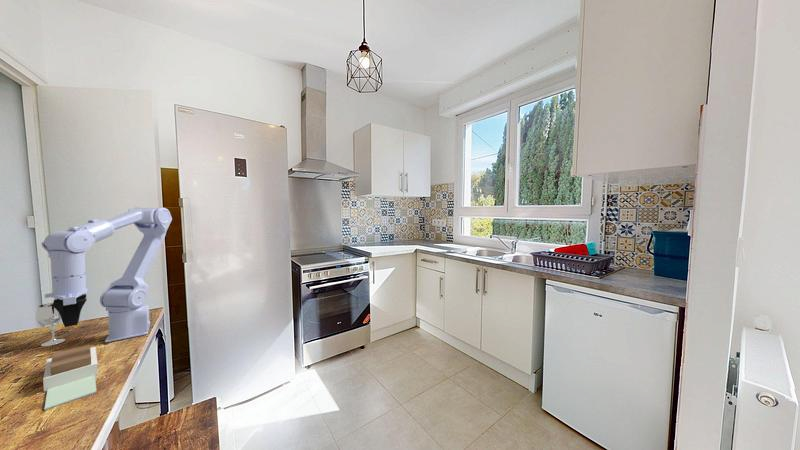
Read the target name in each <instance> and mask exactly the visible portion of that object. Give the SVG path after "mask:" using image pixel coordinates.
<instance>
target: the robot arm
mask: <svg viewBox="0 0 800 450" xmlns="http://www.w3.org/2000/svg"><path fill="white" fill-rule="evenodd" d="M172 220H173V217H172V215H171V212H170V210H169V209H168V208H166V207H143V206H142V207H141V206H137V207H133V208H129V209H128V210H127V211H125V212H123V213H120V214H117V215H116V216H114V217H111V218H108V219H107V220H104V219H101V218H98V219H97V218H92V219H89V220H87V223H83V224H81V225H77V226H75V225H73V226H71V227H69V229H67V230H66V231H65V230H64V231H63V230H57V231H53V232H51V233H49V234H48V235H47V236H46V237H45V238H44V241H43V242H41V247H42V248H43V249H44V250H45V251H46V252H47V254H48V258H49V259H50V271H51V276H50V277H51V292H50V293H45V294H44V298H45V299H47V298H52V299H54V300H52V301H53V302H52V303H53V304H52V305H53V307H54V308H55V309H56V310H57V311H58V312H59V314H60V316H61V319H62V322H61V323H62V324H63V326H64V328H68V327H73V326H77V325H78V324H79V321H80V316H81V312H82V309H83V307H84V305H85V304H86V303H87V293H88V291H89V289H88V288H87V273H86V269H87V267H86V252H88V251H89V250H90V248H91V247H92V245H93V244H95V243H99V242H100V241H102V240H104V239H107V238H109V237H111V236H113V235H114V233H115V231H117V230H119V229H121V228H124V227H127V226H129V225H134V226H135V227H136V229H137V230H138V231H139V232H140V233H141V234H143V236H142V239H141V241H140V243H139V244H138V246H137V248H136V250H135V252H134V254H133V256H132V257H131V259H130V262H129V263H128V265H127V266H126V268H125V271H124V273H123V274H122V276H121V277H120V278H118V279H117V280H115V281H113V282H111V283H110V285H109V286H108V287H107V288H106V289H105V290H104V291H103V292H102V293H101V295H100V296H99V304H100V305H101V306H102V307H103V308H105V311H108V312H107V314H108V315H107V317H108V318H107V319H108V335H107V337H106V338H105V341H104V343H110V342H111V343H112V342H115V341H116V342H117V341H120V340H126V339H130V338H135V337H139V336H144V335H147V334H148V333H149V331H150V326H151V321H150V305H148V304H145V305H144V303H145V302H146V301H147V298H148V291H149V290H150V286H149V285H148V284H147V283H146V281H145V278H146V276H147V275H148V273H149V270H150V269H151V266H152V264H153V262H154V261H155V258H156V256H157V254H158V252H159V250H160V248H161V246H162V244H163V243H164V240H165V237H166V236H167V235H166V234H167V231H168V229H169V227H170V224H171V223H172Z"/></svg>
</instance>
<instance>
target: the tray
mask: <svg viewBox="0 0 800 450" xmlns="http://www.w3.org/2000/svg"><path fill="white" fill-rule="evenodd" d="M90 351H91V365H88V366H84V367H81V368H77V369H74V370H70V371H67V372H63V373H60V374H56V375H53V376H51V370H50V367H51V361H52V357H50V358H47V359H46V363H45V368H44V374H43V379H42V381H43V392H47V390H48V389H51V388H54V387H57V386H60V385H63V384H67V383H70V382H73V381H76V380H80V379H83V378H86V377H89V376H93V375H95V377H96V376H99V369H98V364H99V363H98V356H97V349H96V346H93V347H90Z"/></svg>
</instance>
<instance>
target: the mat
mask: <svg viewBox="0 0 800 450" xmlns="http://www.w3.org/2000/svg"><path fill="white" fill-rule="evenodd" d="M96 383H97V382H96V376H95V375H93V376H89V377H86V378H83V379H80V380H76V381H73V382H70V383H67V384H63V385H60V386H57V387H54V388H51V389H48V390H47V391H46V397H45V401H44V402H45V403H44V408H43V409H44V411H47V410H49V409H52V407H53V408H55V407H58V406H61V405H64V404H66V403H70V402H73V401H75V400H78V399H81V398H85V397H87V396H90V395H93V394H96V393H97V384H96Z"/></svg>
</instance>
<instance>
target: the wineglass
mask: <svg viewBox="0 0 800 450" xmlns="http://www.w3.org/2000/svg"><path fill="white" fill-rule="evenodd" d="M52 304H53V302H49V303H47V302H46V303H43V304H41V305H39V306H38V308H37V310H36V314H35V321H36V323H37V324H38V325H40V326H44V327H45V326H46V327H48V326H49V330H50V332H51V339H50V340H49V341H46V342H43V343H41V344H40V346H41V347H51V346H55V345H59V344H60V343H63V342H65V341H66V338H55V331H56V325H57V324H60V323H63V322H62V319H61V316H60V314H59V312H58V311H57V310H56V309H55V308H54V307H53V305H52Z"/></svg>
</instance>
